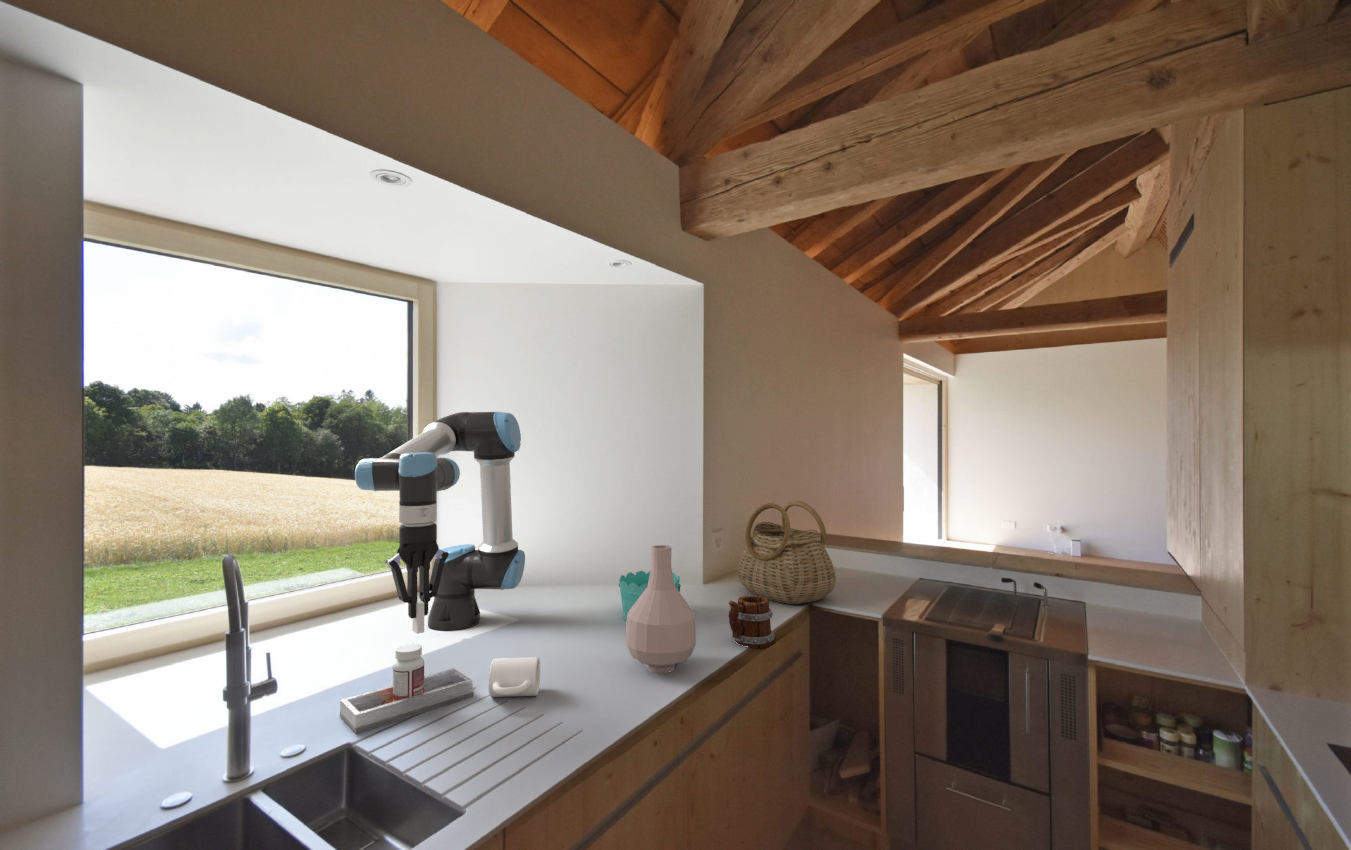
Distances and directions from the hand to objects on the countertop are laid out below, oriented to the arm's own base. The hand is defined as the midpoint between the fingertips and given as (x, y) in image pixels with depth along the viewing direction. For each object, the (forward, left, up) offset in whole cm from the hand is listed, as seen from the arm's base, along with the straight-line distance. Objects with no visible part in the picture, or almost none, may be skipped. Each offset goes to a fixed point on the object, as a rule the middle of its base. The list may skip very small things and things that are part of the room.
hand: (418, 631), depth 133 cm
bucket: (-9, +76, -15) cm, 78 cm away
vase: (+24, +50, -15) cm, 58 cm away
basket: (+6, +128, -15) cm, 129 cm away
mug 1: (+14, +15, -15) cm, 26 cm away
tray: (+2, -3, -15) cm, 15 cm away
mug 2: (+28, +80, -15) cm, 86 cm away
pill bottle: (+1, -3, -14) cm, 14 cm away
